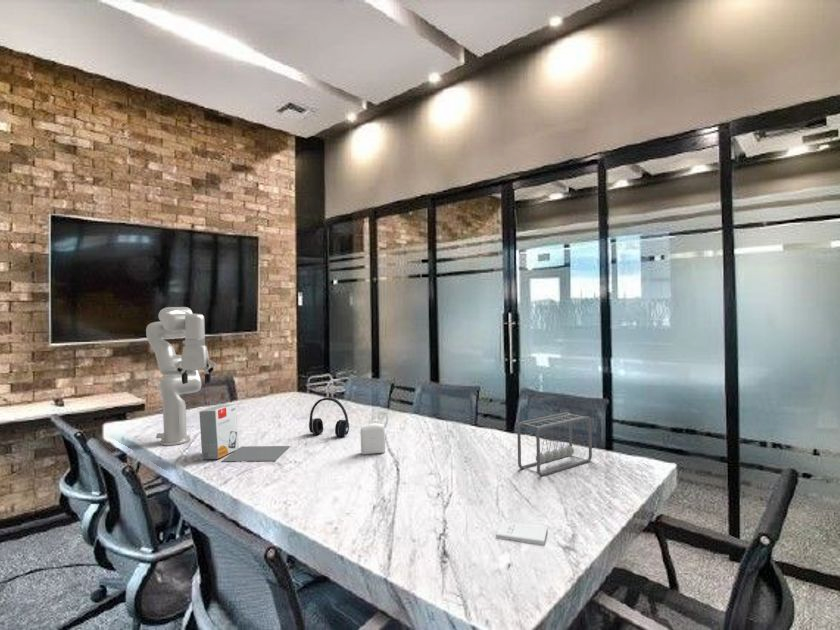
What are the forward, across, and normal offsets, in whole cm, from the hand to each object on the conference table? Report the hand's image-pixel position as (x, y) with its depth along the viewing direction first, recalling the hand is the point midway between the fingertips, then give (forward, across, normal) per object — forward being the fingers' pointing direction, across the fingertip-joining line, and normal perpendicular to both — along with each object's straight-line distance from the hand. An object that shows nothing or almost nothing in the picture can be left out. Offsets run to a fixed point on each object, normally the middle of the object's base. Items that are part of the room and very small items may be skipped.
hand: (196, 383), depth 200 cm
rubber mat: (+31, +26, 0) cm, 40 cm away
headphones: (+31, +50, +28) cm, 65 cm away
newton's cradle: (+31, +147, -19) cm, 151 cm away
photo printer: (+31, +75, 0) cm, 81 cm away
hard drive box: (+31, +10, 0) cm, 32 cm away
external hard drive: (+31, +124, -73) cm, 147 cm away
